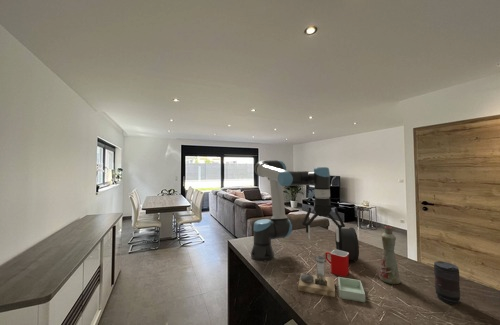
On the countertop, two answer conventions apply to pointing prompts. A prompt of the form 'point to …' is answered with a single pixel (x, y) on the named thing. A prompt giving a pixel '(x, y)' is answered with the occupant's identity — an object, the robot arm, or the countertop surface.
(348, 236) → the wheel rim
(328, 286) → the block
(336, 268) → the mug
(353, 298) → the tray
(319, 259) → the lock pin
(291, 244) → the countertop surface
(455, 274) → the camera lens
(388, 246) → the bottle
